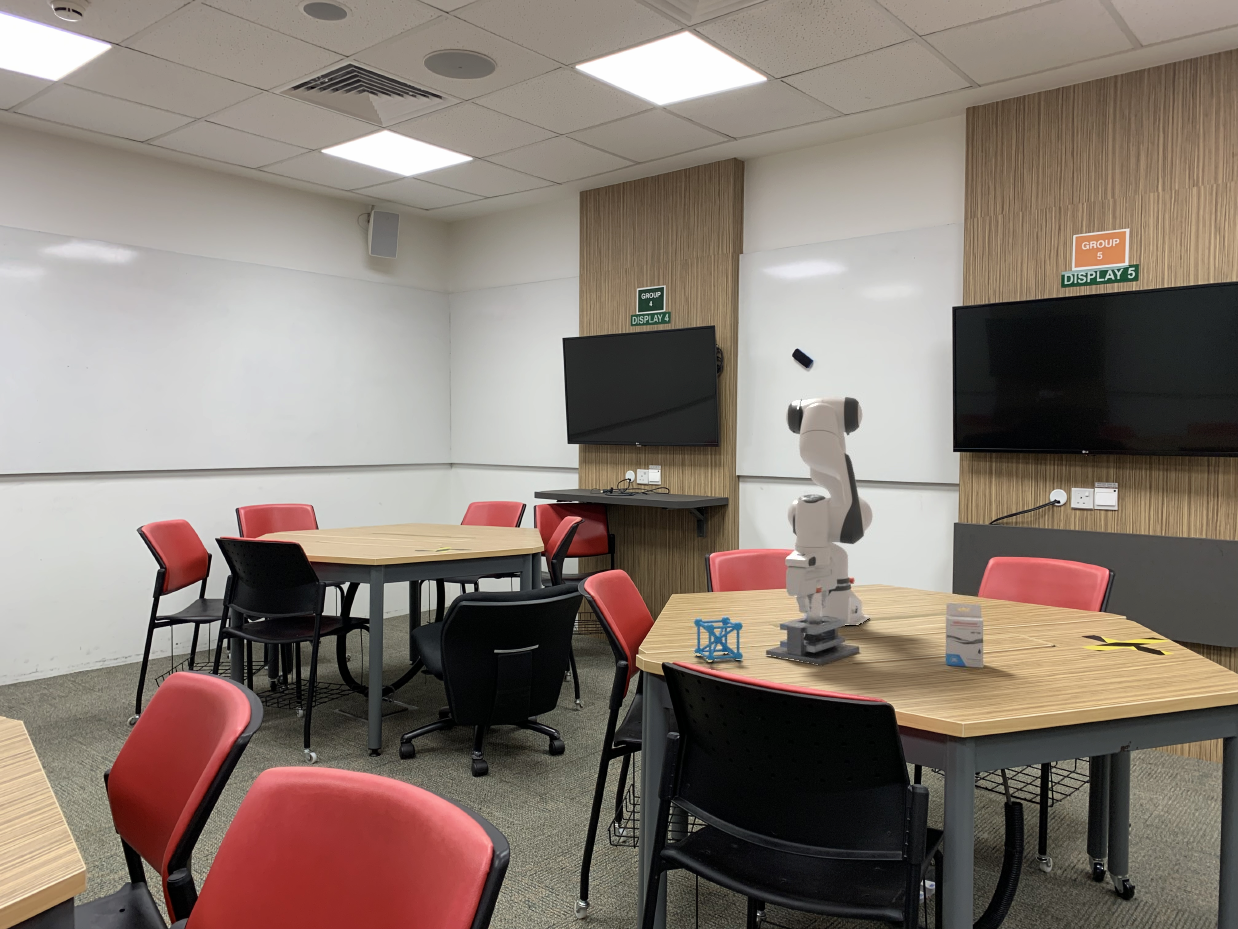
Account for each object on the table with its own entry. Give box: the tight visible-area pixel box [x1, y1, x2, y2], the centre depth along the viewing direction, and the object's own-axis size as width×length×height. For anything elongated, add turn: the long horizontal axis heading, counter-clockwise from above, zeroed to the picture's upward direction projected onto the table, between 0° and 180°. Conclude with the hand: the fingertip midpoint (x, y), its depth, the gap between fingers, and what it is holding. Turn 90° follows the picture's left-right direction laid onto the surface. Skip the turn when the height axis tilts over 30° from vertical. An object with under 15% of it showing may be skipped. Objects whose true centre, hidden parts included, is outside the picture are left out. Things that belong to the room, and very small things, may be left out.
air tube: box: [803, 580, 822, 642], centre depth 225 cm, size 5×5×18 cm
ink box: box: [945, 602, 984, 669], centre depth 212 cm, size 9×5×15 cm, turn 71°
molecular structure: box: [693, 616, 744, 661], centre depth 221 cm, size 10×10×10 cm
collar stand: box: [765, 616, 860, 666], centre depth 224 cm, size 20×16×8 cm
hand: (812, 609), depth 225 cm, fingers open, 8 cm apart
